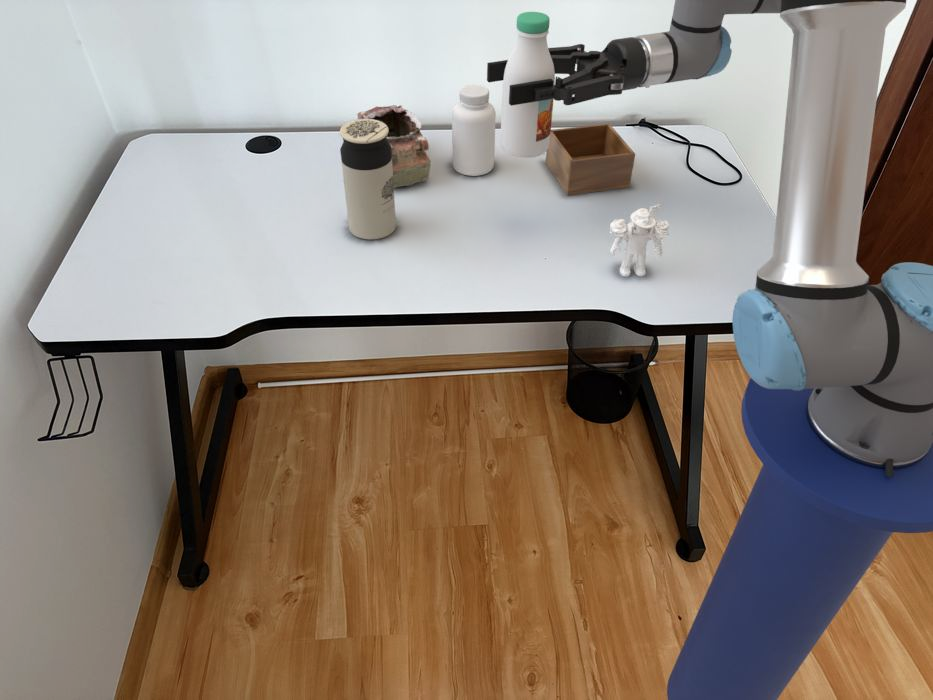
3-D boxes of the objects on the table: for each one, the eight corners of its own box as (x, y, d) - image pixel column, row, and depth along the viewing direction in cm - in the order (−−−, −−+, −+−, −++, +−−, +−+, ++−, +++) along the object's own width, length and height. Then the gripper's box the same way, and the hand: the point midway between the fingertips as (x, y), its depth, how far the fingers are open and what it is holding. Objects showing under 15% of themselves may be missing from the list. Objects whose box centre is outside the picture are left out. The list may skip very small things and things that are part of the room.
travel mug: (339, 229, 128) (327, 131, 116) (371, 209, 133) (362, 112, 121) (374, 246, 125) (365, 147, 112) (405, 225, 129) (400, 127, 117)
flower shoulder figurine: (658, 264, 122) (672, 199, 114) (662, 279, 119) (677, 214, 111) (602, 263, 122) (612, 198, 114) (604, 278, 119) (615, 212, 111)
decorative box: (361, 198, 136) (356, 148, 129) (343, 146, 150) (338, 99, 143) (432, 188, 138) (431, 139, 132) (408, 138, 153) (406, 91, 146)
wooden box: (629, 187, 139) (635, 153, 135) (567, 195, 137) (571, 161, 132) (604, 155, 148) (609, 123, 143) (545, 162, 146) (548, 130, 141)
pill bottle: (473, 152, 149) (475, 77, 138) (502, 167, 144) (506, 91, 134) (443, 165, 145) (442, 89, 134) (472, 181, 140) (473, 104, 130)
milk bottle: (519, 164, 115) (528, 30, 102) (490, 143, 120) (494, 13, 106) (559, 151, 118) (572, 19, 105) (529, 131, 123) (538, 3, 109)
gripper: (666, 114, 112) (526, 139, 106) (600, 61, 126) (472, 81, 120) (676, 63, 107) (529, 87, 101) (606, 15, 121) (473, 32, 115)
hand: (499, 83), depth 110 cm, fingers closed on milk bottle, 8 cm apart
